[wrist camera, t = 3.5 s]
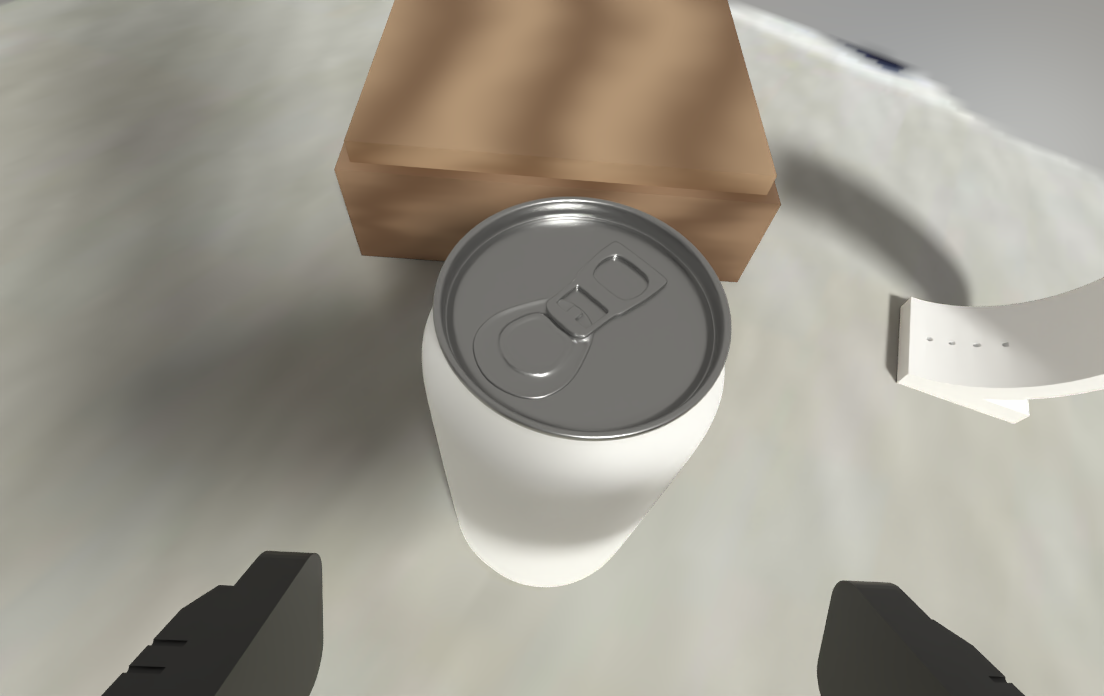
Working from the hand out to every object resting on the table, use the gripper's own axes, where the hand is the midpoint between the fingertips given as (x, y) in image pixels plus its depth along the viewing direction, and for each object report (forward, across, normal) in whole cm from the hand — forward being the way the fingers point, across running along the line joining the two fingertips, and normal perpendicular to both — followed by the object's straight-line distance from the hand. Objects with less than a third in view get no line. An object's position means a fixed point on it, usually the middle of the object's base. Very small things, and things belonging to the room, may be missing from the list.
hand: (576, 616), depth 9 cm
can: (+11, 0, +4) cm, 12 cm away
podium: (+25, 0, -10) cm, 27 cm away
